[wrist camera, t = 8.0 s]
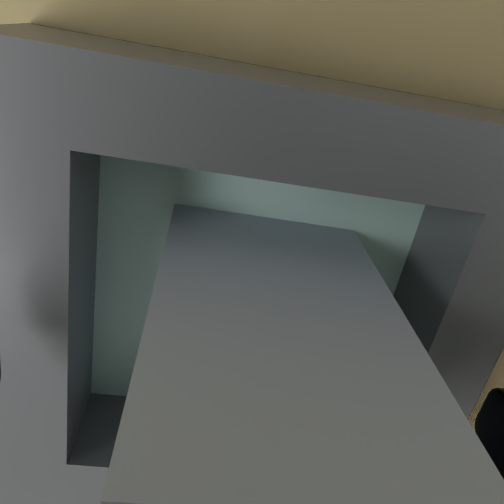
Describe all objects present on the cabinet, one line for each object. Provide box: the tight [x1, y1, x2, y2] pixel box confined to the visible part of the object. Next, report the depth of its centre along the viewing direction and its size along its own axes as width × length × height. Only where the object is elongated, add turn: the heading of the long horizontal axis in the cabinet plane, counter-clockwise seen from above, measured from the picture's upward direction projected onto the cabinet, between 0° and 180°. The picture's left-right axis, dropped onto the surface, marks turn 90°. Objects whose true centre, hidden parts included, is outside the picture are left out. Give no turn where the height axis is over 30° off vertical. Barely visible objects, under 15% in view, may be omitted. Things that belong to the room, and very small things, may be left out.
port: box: [0, 23, 504, 504], centre depth 11 cm, size 10×10×3 cm
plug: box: [100, 204, 504, 504], centre depth 8 cm, size 4×4×8 cm
